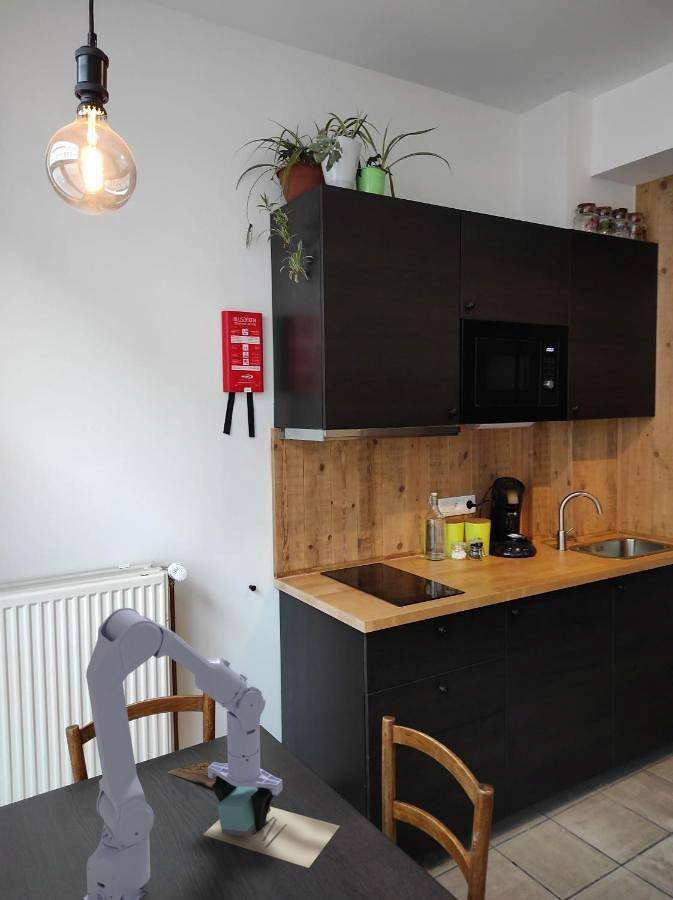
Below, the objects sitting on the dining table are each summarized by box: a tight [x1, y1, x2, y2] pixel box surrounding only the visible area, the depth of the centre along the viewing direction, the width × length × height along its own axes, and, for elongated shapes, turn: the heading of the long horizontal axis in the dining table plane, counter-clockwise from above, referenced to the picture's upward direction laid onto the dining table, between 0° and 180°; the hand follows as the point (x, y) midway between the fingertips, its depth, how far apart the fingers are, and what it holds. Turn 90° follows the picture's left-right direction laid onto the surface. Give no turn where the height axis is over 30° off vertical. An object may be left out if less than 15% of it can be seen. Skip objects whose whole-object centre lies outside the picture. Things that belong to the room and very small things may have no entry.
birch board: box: [202, 806, 341, 869], centre depth 119 cm, size 12×21×2 cm, turn 65°
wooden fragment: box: [166, 761, 228, 788], centre depth 138 cm, size 26×11×1 cm, turn 72°
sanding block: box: [217, 786, 271, 836], centre depth 120 cm, size 8×5×5 cm, turn 155°
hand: (245, 822), depth 120 cm, fingers closed on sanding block, 6 cm apart
